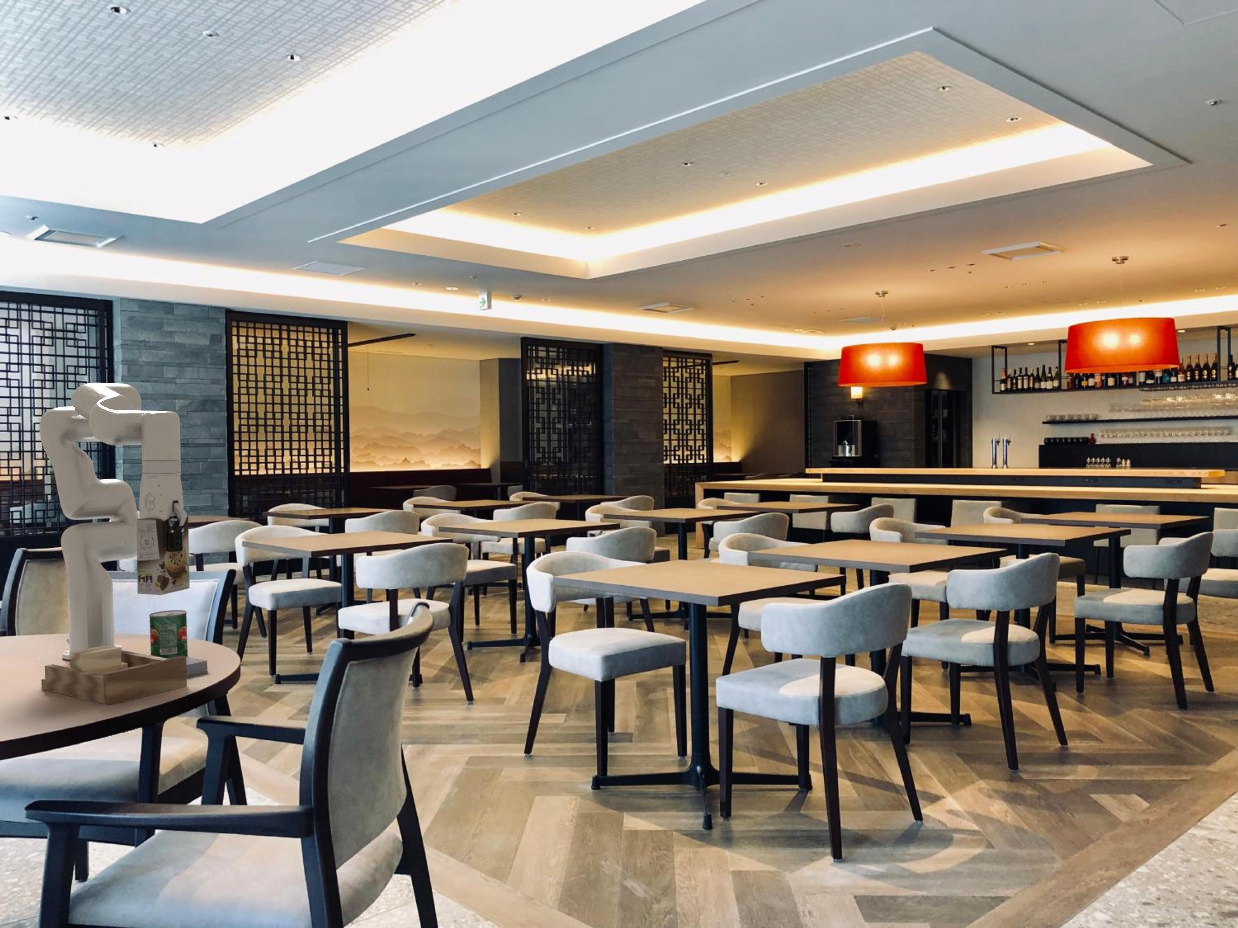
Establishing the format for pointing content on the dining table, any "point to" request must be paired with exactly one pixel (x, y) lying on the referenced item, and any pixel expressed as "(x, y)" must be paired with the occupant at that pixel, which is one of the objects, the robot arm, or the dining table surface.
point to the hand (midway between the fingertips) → (163, 549)
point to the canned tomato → (168, 633)
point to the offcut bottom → (109, 668)
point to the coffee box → (160, 559)
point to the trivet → (194, 665)
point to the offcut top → (95, 657)
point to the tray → (119, 679)
